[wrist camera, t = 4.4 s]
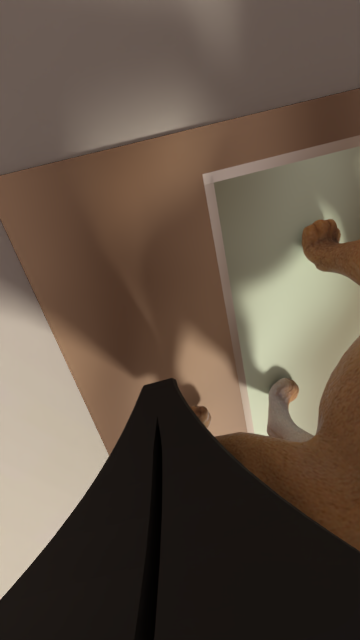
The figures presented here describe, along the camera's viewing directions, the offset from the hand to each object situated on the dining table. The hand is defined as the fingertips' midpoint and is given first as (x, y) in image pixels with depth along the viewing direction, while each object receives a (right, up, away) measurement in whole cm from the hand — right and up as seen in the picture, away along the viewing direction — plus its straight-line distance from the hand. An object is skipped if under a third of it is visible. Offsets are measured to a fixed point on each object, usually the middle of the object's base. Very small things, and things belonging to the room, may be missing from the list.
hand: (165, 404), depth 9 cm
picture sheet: (+5, +3, +1) cm, 6 cm away
